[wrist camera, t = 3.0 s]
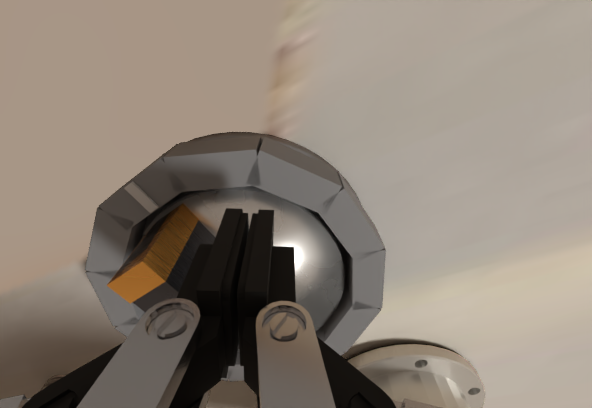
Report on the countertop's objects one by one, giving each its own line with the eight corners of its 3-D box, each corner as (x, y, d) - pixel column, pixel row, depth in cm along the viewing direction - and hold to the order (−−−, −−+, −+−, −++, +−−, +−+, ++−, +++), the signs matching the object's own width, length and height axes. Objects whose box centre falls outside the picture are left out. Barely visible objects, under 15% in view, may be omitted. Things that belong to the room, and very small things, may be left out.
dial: (375, 285, 17) (407, 375, 12) (233, 356, 20) (214, 452, 15) (262, 135, 13) (245, 184, 8) (102, 249, 16) (22, 335, 11)
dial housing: (349, 342, 21) (358, 389, 18) (139, 331, 21) (114, 378, 18) (399, 141, 15) (426, 165, 12) (94, 114, 14) (42, 132, 11)
